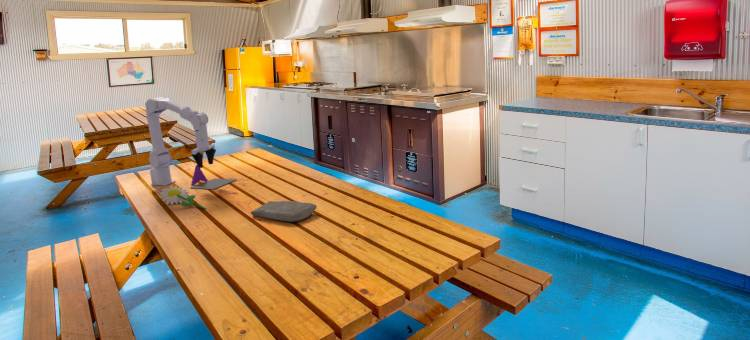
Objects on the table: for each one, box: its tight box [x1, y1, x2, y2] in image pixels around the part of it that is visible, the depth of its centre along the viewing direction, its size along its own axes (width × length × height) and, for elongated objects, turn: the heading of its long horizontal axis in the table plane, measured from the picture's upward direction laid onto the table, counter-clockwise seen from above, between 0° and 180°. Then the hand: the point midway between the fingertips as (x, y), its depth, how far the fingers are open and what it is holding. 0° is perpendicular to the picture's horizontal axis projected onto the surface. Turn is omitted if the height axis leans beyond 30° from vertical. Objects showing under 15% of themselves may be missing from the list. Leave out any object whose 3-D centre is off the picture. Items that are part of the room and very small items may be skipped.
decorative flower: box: [158, 185, 207, 210], centre depth 228 cm, size 13×5×30 cm
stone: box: [250, 200, 317, 223], centre depth 204 cm, size 26×4×15 cm
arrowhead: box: [190, 164, 209, 187], centre depth 263 cm, size 10×2×10 cm
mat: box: [190, 178, 238, 191], centre depth 260 cm, size 14×18×1 cm
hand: (205, 165), depth 256 cm, fingers open, 7 cm apart
